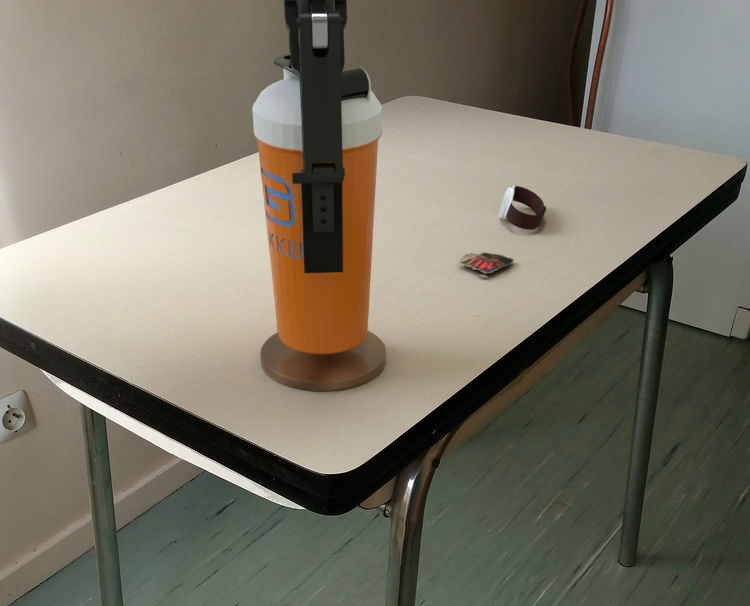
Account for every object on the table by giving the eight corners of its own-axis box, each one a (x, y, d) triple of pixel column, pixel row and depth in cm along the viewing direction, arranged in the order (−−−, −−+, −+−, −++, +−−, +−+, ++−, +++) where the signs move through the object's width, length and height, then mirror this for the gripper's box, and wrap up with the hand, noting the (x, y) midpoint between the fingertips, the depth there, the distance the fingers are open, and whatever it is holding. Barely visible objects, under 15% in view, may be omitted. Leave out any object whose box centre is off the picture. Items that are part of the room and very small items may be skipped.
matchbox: (516, 260, 96) (516, 255, 96) (494, 280, 92) (494, 275, 92) (471, 250, 98) (471, 246, 97) (448, 270, 94) (448, 265, 94)
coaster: (261, 393, 76) (260, 384, 76) (260, 332, 84) (260, 323, 84) (392, 388, 77) (392, 379, 76) (379, 328, 85) (380, 319, 84)
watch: (497, 206, 108) (500, 172, 105) (541, 207, 107) (545, 173, 105) (500, 234, 101) (503, 198, 99) (547, 235, 101) (551, 200, 99)
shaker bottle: (323, 298, 84) (317, 41, 72) (403, 332, 79) (410, 63, 67) (242, 334, 79) (221, 63, 67) (322, 373, 74) (314, 89, 62)
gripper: (251, -128, 69) (268, 192, 83) (248, -87, 52) (270, 310, 66) (359, -128, 70) (359, 190, 84) (391, -87, 53) (385, 306, 66)
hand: (320, 243), depth 75 cm, fingers closed on shaker bottle, 9 cm apart
